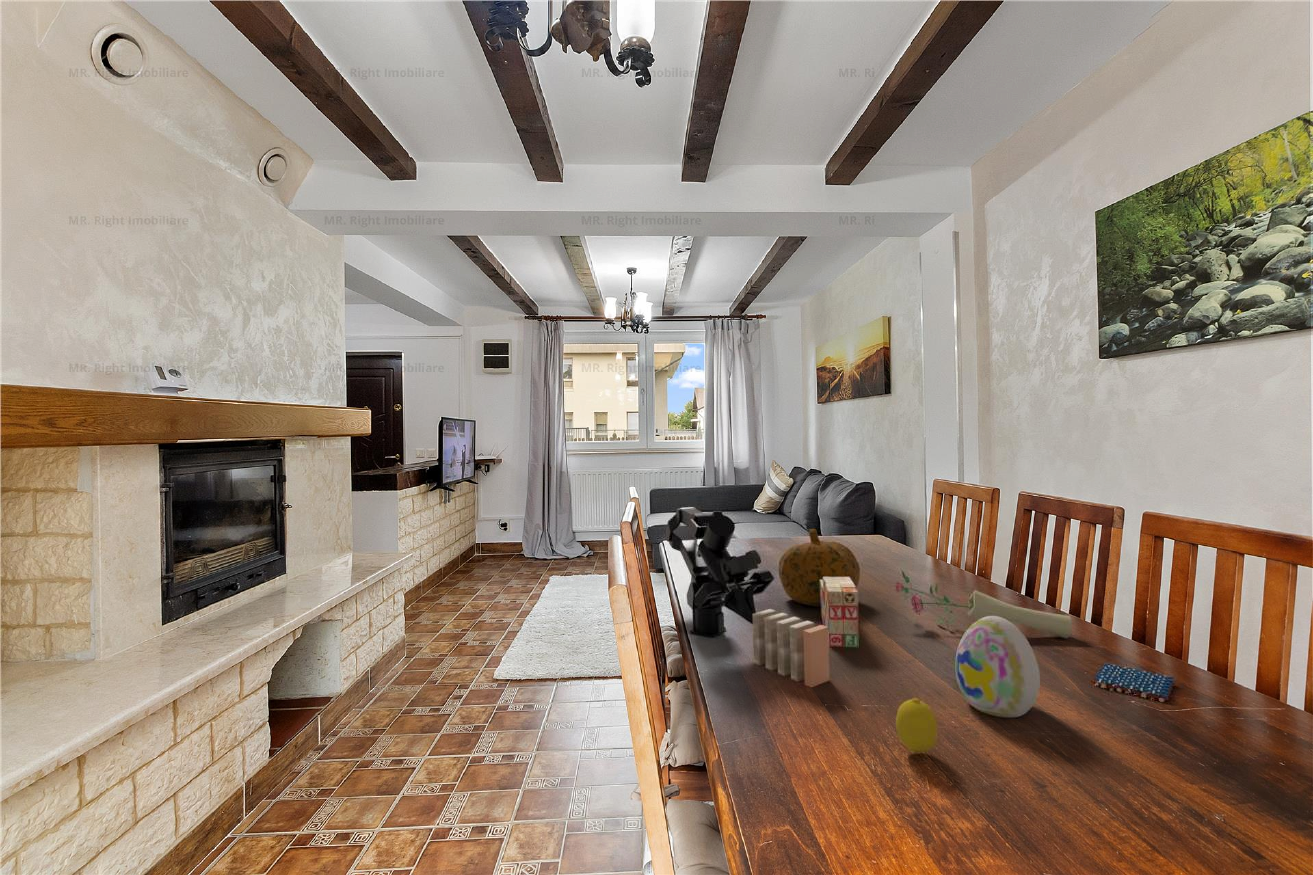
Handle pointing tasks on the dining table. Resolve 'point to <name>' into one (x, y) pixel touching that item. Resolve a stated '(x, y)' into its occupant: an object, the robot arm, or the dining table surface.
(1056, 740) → the dining table surface
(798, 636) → the domino
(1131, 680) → the woven mat
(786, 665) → the domino
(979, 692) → the decorative egg
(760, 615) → the domino
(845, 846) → the dining table surface
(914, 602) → the flower vase
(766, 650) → the domino
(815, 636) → the domino
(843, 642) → the stack of blocks
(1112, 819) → the dining table surface
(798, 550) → the decorative pumpkin
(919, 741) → the lemon
